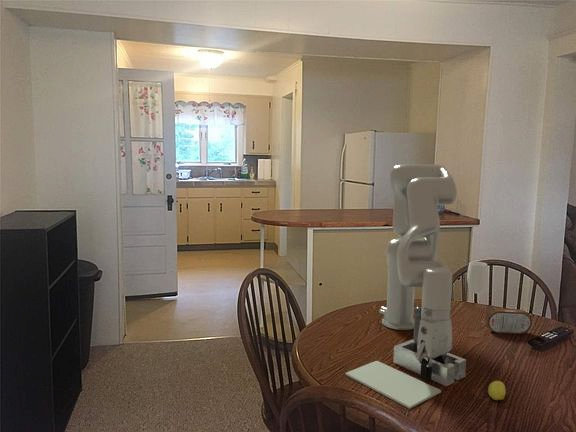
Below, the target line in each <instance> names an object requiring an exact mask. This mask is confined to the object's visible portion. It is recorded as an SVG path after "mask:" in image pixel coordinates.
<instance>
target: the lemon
mask: <svg viewBox="0 0 576 432" xmlns="http://www.w3.org/2000/svg"><path fill="white" fill-rule="evenodd" d="M487 393H488V395H489V396H490V397H491V399H492V400H494V401H503V400H504V399H505V396H506V394H507V392H506V385H505V383H504V382H502V381H500V380H494V381H492V382H491V383H489V385H488V389H487Z"/></svg>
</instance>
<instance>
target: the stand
mask: <svg viewBox="0 0 576 432" xmlns="http://www.w3.org/2000/svg"><path fill="white" fill-rule="evenodd" d="M421 307H422V306H416V307H414V311H413V316H414V318H413V319H414V329H413V339H414V341H413V352H415V353H417V351H418V348H417V344H418V333H419V326H420V321H421Z"/></svg>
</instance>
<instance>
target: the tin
mask: <svg viewBox="0 0 576 432" xmlns="http://www.w3.org/2000/svg"><path fill="white" fill-rule="evenodd" d="M484 322H485V325H486V326H487V327H488V329H490V331H491V332H493V333H496V334H507V335H509V334H510V335H523V334H526V333H528V332H529V331H530V330H531V328H532V325H533V320H532V317H531V316H530V315H529V313H528V312H527V311H525V310H523V309H520V308H519V309H517V308H516V309H515V308H497V307H496V308H493V309H491V310H489V311H488V312H487V314H486V315H485V321H484Z"/></svg>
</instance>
